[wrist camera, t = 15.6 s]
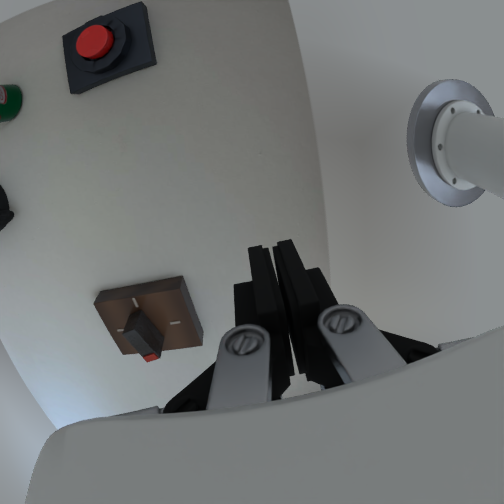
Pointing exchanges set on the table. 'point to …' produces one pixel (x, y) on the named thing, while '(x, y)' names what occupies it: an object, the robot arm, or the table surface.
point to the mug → (4, 210)
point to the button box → (111, 49)
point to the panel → (152, 312)
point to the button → (94, 42)
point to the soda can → (9, 102)
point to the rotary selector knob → (143, 336)
